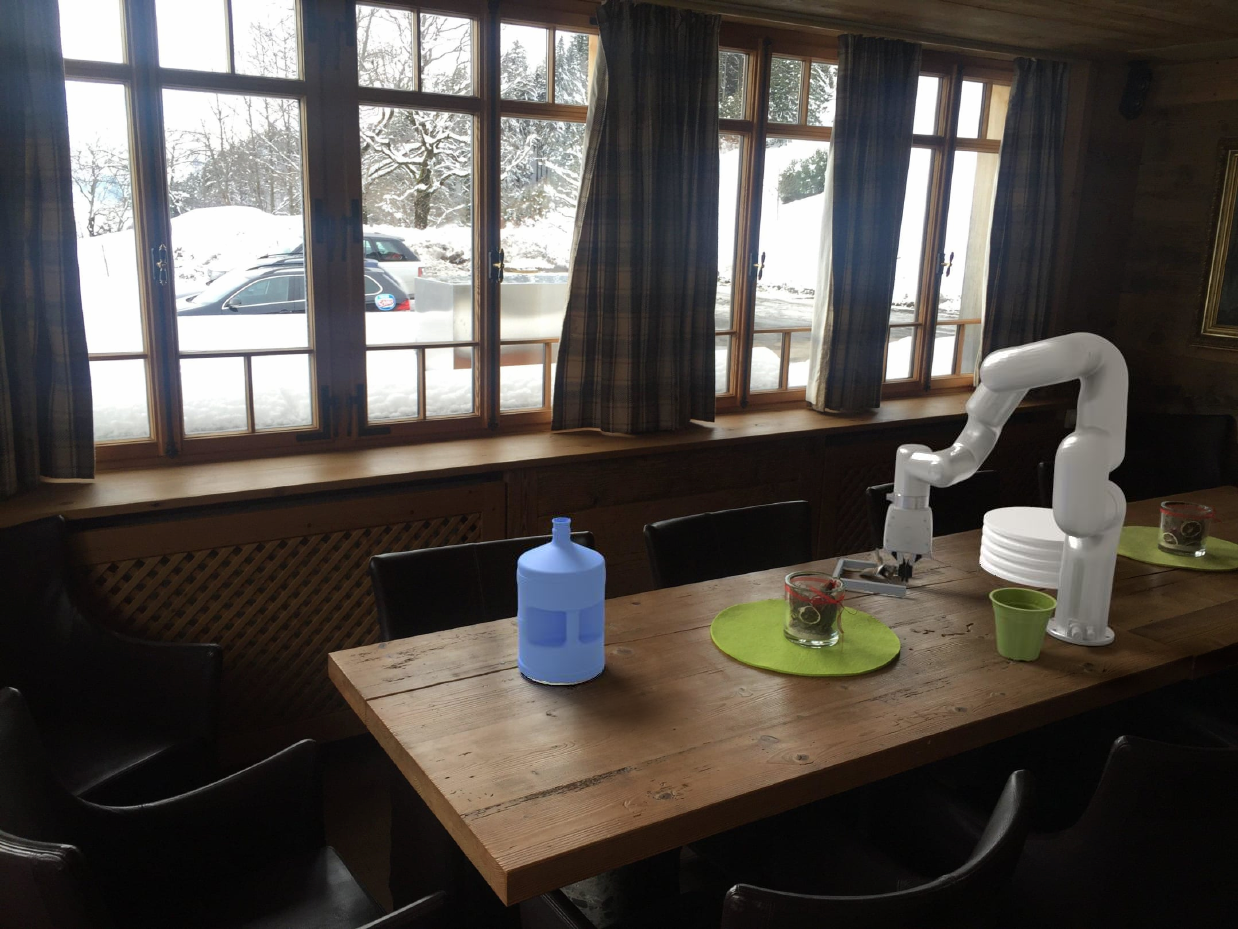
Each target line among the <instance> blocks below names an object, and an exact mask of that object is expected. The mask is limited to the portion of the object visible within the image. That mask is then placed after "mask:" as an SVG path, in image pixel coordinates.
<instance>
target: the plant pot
mask: <svg viewBox="0 0 1238 929" xmlns="http://www.w3.org/2000/svg"><path fill="white" fill-rule="evenodd" d="M989 599H990V600H991V602H992V611H993V612H994V620H995V622H994V623H995V634H996V635H995V636H996V647H997V648H996V649H997V651H998V653H999V655H1001V657H1004V658H1006V657H1007V658H1006V659H1009V658H1011V659H1013V660H1012V661H1020V660H1021V661H1025V662H1030V661H1031V660H1032V661H1035V660H1037V659H1038V657H1039V656H1040V652H1041V648H1042V646H1043V641H1044V638H1045V635H1046V632H1047V631H1046V628H1047V625H1048V622H1049V619H1051V618H1052V615H1053V612H1054V610H1056V607H1057V605H1058V603H1057V599H1055V598H1054V597H1052V596H1051V595H1049V594H1047V593H1044V592H1041V591H1038V590H1034V589H1029V588H1020V587H1004V588H998V589H994V590H992V591H991V592H990V593H989ZM1011 659H1010V660H1011ZM1032 661H1031V662H1032Z"/></svg>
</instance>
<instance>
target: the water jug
mask: <svg viewBox="0 0 1238 929" xmlns="http://www.w3.org/2000/svg"><path fill="white" fill-rule="evenodd" d="M551 522H552V524H553V525H552V530H551V531H552V540H551V542H547V543H546V544H543V545H540V546H538V547H535V548H532V549H530V550H528V551H525V552H524V553H523V554H521V555H520V556H519V558H518V560H517V570H516V582H517V608H518V609H517V628H518V629H517V630H518V655H517V667H518V671H519V670H520V671H521V672H522V673H523V674H524V675H526V676H527V677H530V678H532V679H535V680H539V681H546V682H549V683H575V682H580V681H584V680H588V679H591V678H593V677H595V676H597V675H598V674H599V673H600V674H602V672H603V671H602V670H604V668H605V665H606V662H605V661H606V656H605V624H606V622H605V620H606V612H605V595H606V594H605V593H606V592H605V590H606V586H605V585H606V578H607V577H606V576H607V575H606V572H607V571H606V560H605V558H604V556H603V555H602V554H600V553H599V552H598V551H596V550H593V549H590V548H588V547H585V546H583V545H580V544H578V543H576V542H573V541H572V540H571V526H570V524H571V518H568V517H556V518H553V519H552V520H551ZM520 671H519V672H520ZM521 672H520V673H521ZM600 674H599V675H600ZM599 675H598V676H599ZM598 676H597V677H598Z"/></svg>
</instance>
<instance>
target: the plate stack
mask: <svg viewBox="0 0 1238 929" xmlns="http://www.w3.org/2000/svg"><path fill="white" fill-rule="evenodd" d="M1065 536H1066V534H1065V533H1064V532H1063V531H1061V530H1060V528H1059V527H1058V526H1057V524H1056V522H1055V520H1054V516H1053V508H1047V507H1045V508H1044V507H1035V506H1034V507H1033V506H1032V507H1031V506H1012V507H1011V506H1010V507H1009V506H1008V507H1001V508H995V509H992V510H990V511H989V510H988V511H987V512H986V513H985V514H984V516H983V526H982V536H981V545H980V556H979V565H980V564H981V565H980V566H981V568H983V569H984V570H985V571H986V572H988V573H990V574H991V575H993V576H995V575H996V577H999V578H1000V579H1003V580H1006V581H1008V582H1012V583H1016V584H1021V585H1026V586H1029V587H1034V588H1035V587H1037V588H1043V589H1053V590H1058V587H1059V579H1060V570H1061V562H1062V555H1063V547H1064V541H1065Z"/></svg>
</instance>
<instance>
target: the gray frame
mask: <svg viewBox="0 0 1238 929" xmlns="http://www.w3.org/2000/svg"><path fill="white" fill-rule="evenodd" d="M883 564H884V567H885V568H887V569H888V570H889V569H890V570H891V569H892V566H893V563H884V562H883ZM894 565H895V566H896V569H897V568H898V567H899V564H894ZM877 566H878V565H877V564H876V562H875V561H869V560H868V561H867V560H858V559H849V558H843V557H840V558H839V560H838V562H837V565H836V567H835V569H834V570H833V574H832V577H837V578H839V575H840V574H841V572H842V570H843V567H846V568H854V569H860V570H865V569H868V568H876V567H877ZM843 571H844V570H843ZM905 572H906V570H905ZM842 573H843V572H842ZM886 573H887V574H888V572H886ZM841 575H842V574H841ZM895 575H898V571H897V572H896V573H895ZM832 577H831V578H832ZM840 579H841V580H842V581H843V582H844V583H845V585H846V590H847V588H849V589H858V590H864V591H869V592H873V593H881V594H887V595H895V596H899V597H905V596H906V595H907V585H900V584H890V583H889V584H887V583H883V582H873V581H867V580H858V579H853V578H852V579H850V578H843V577H840ZM905 598H906V597H905Z"/></svg>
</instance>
